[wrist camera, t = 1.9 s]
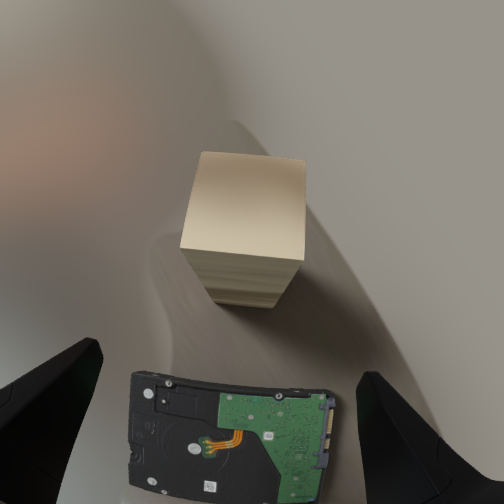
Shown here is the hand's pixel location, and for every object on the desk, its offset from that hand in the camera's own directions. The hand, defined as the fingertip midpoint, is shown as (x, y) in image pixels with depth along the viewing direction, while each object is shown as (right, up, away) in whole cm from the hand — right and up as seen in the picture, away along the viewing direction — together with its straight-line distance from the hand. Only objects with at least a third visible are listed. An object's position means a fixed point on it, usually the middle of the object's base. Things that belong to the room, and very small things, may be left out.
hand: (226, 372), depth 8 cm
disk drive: (-1, -11, +10) cm, 15 cm away
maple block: (0, +2, +14) cm, 14 cm away
